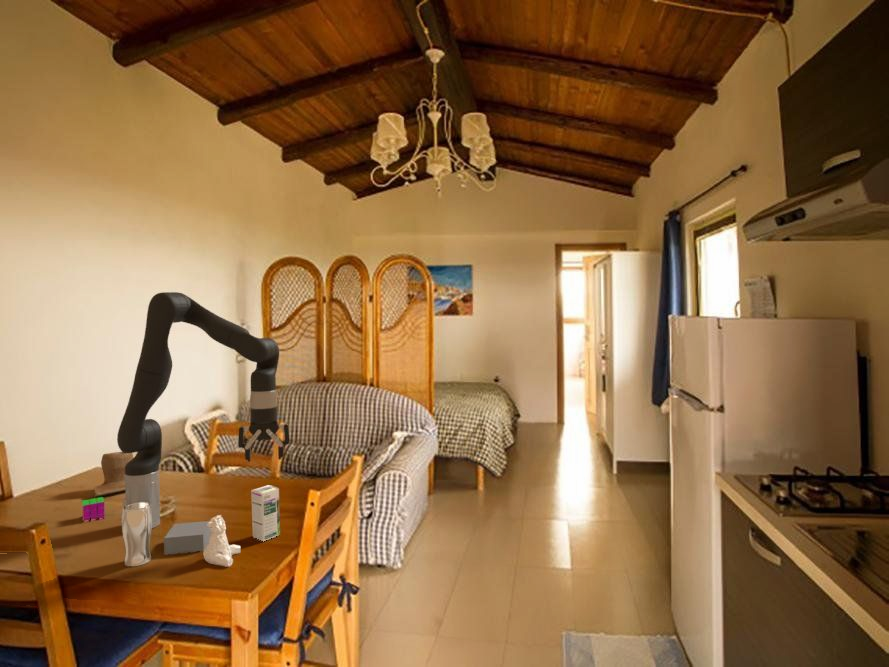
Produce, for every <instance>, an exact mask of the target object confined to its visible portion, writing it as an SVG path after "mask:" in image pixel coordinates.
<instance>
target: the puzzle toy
mask: <svg viewBox="0 0 889 667" xmlns="http://www.w3.org/2000/svg"><path fill="white" fill-rule="evenodd" d="M81 509H82V510H81V511H82V516H83V518H82V522H83V521H85V520H90V518H91V519H97V520H98V518H104V517H105V516H106V515H105V500H104V497H103V496H99V497H96V498H95V497H94V498H91V499H84V500H81ZM97 516H98V518H97ZM90 521H91V520H90Z"/></svg>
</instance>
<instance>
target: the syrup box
mask: <svg viewBox="0 0 889 667" xmlns="http://www.w3.org/2000/svg"><path fill="white" fill-rule="evenodd" d="M250 492H251V516H252V517H251V518H252V519H251V521H252V523H251V524H252V538H253V539H255V538H257V539H256V540H258V539H259V540H258V541H260V540H261V541H260V542H262V541H263V543H264V541H265V542H266V540H267V541H269V540H272V539H273V538H277V537H279V535H280V536H281V525H280V524H281V520H280V488H279V487H276V486H274V485H271V484H270V485H269V484H267V485H264V486H261V487H258V488H255V489H251V491H250ZM276 536H277V537H276ZM271 538H272V539H271Z"/></svg>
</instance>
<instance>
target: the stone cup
mask: <svg viewBox="0 0 889 667" xmlns="http://www.w3.org/2000/svg"><path fill="white" fill-rule="evenodd" d="M133 458H134V453H124V452H122V451H116V452H108V453H104V454H103V455H102V457H101V461H100V464H101V465H100V466H101V469H102V473H103V474H102V475H103V479H104V481H103V482H102V483H101V484H100V485H97V486H94V488H93V494H94V498H95V497H96V496H97V497H103V496H108V495H112V493H113V494H116V492H117V493H120V492H125V465H126V464H127V463H128V462H129V461H131V460H132V459H133ZM107 494H108V495H107ZM102 495H103V496H102ZM97 497H96V498H97Z"/></svg>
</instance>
